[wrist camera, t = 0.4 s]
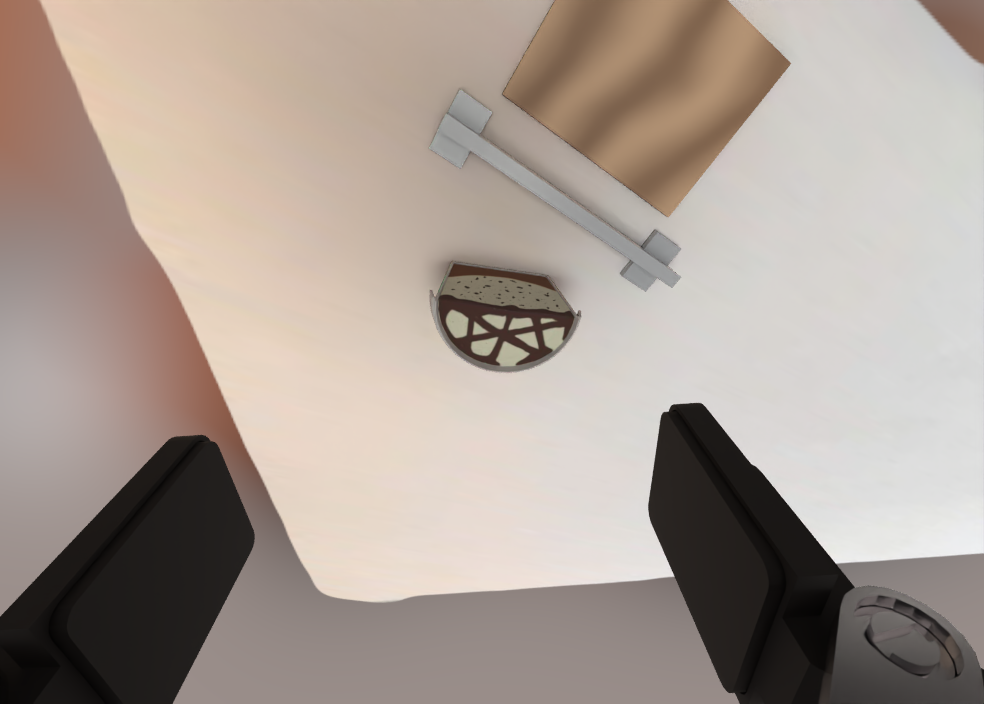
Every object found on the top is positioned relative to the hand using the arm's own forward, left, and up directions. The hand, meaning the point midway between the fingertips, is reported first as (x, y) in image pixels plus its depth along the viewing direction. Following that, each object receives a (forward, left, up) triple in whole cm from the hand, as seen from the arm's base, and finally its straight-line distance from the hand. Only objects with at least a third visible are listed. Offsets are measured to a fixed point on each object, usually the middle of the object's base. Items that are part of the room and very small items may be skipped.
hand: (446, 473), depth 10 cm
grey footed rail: (+8, +4, -34) cm, 35 cm away
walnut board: (+8, +15, -34) cm, 38 cm away
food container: (+8, -7, -35) cm, 36 cm away
